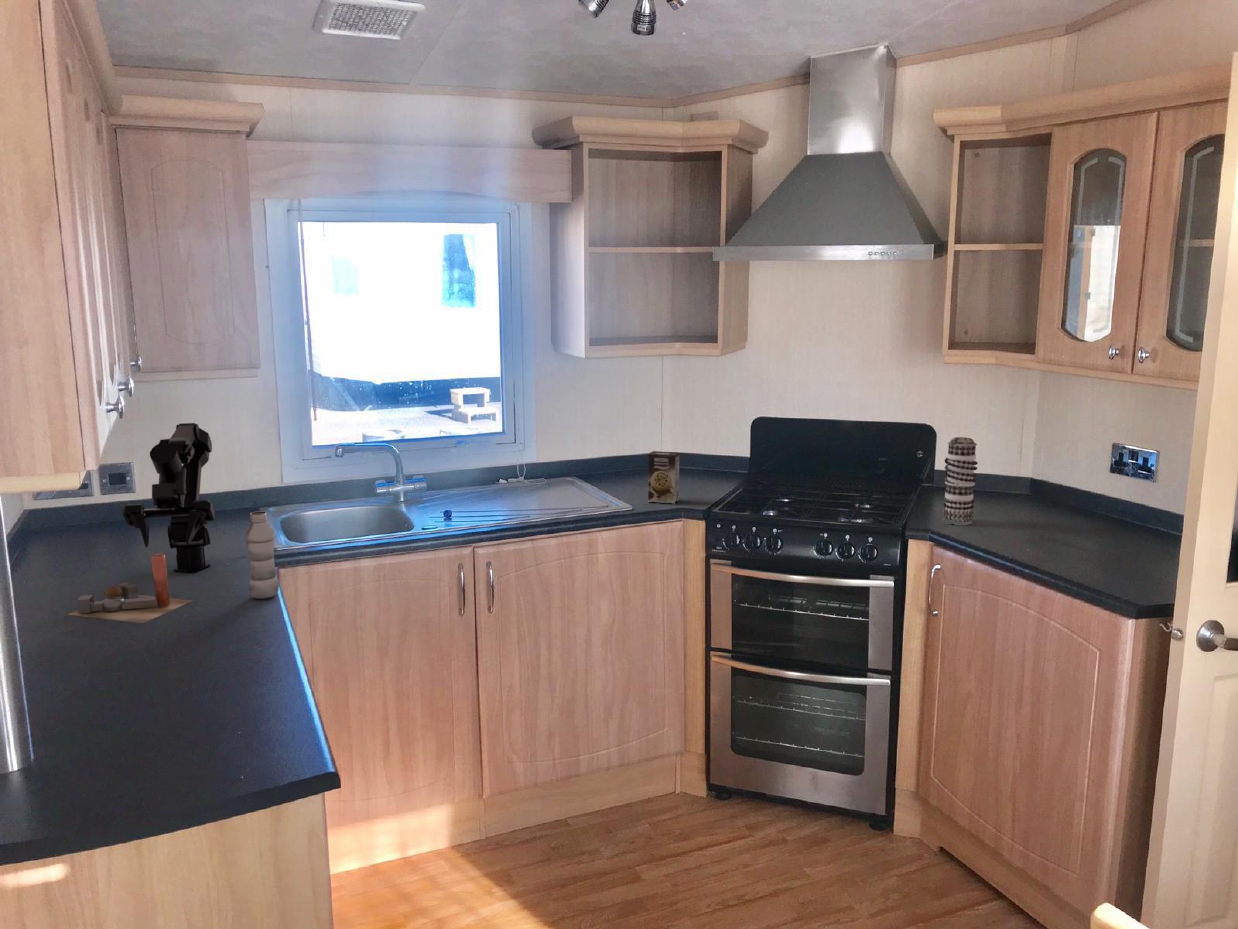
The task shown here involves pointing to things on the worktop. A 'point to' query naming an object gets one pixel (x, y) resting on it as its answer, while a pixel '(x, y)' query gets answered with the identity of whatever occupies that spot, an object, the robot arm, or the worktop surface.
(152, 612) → the wooden board
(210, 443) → the robot arm
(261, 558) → the plastic bottle
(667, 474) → the cookie box
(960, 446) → the decorative candle
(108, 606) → the lever
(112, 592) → the walnut
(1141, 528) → the worktop surface
